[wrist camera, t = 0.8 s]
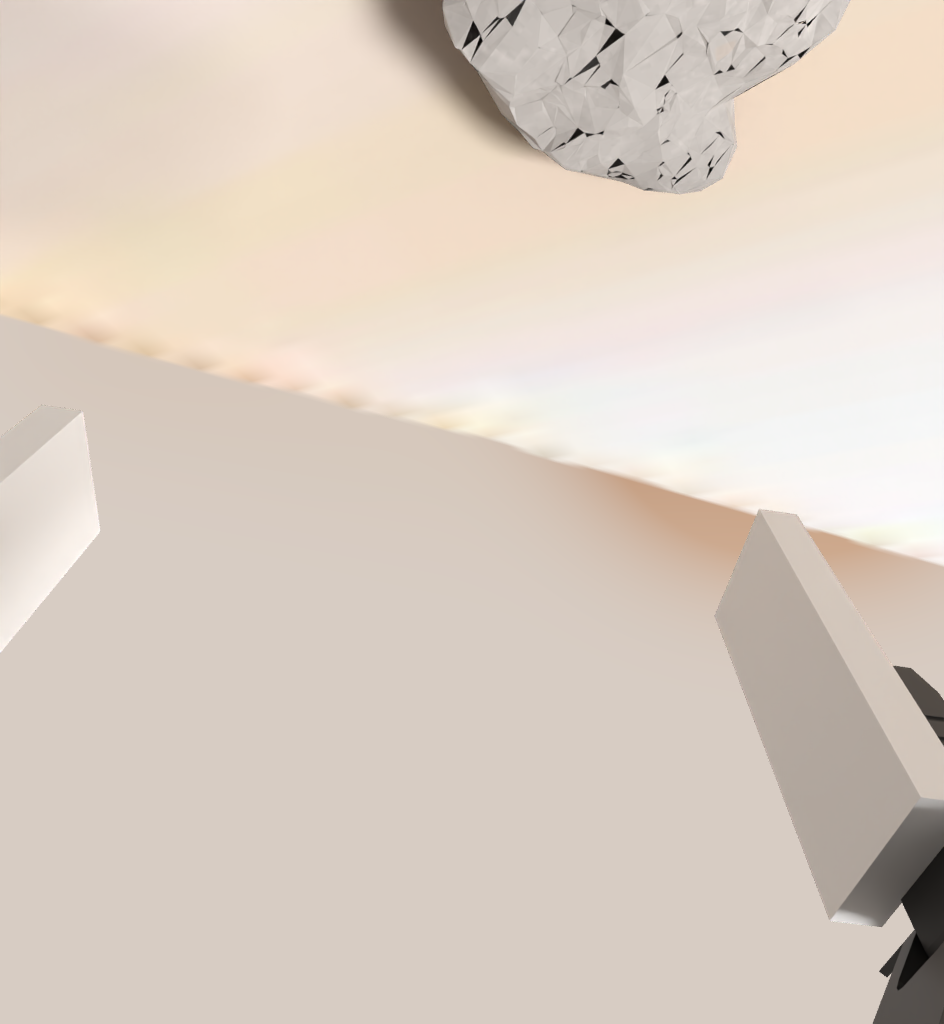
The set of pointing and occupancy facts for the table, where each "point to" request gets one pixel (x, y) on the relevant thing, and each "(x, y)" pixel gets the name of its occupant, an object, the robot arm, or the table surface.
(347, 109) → the table surface
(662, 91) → the stone
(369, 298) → the table surface
